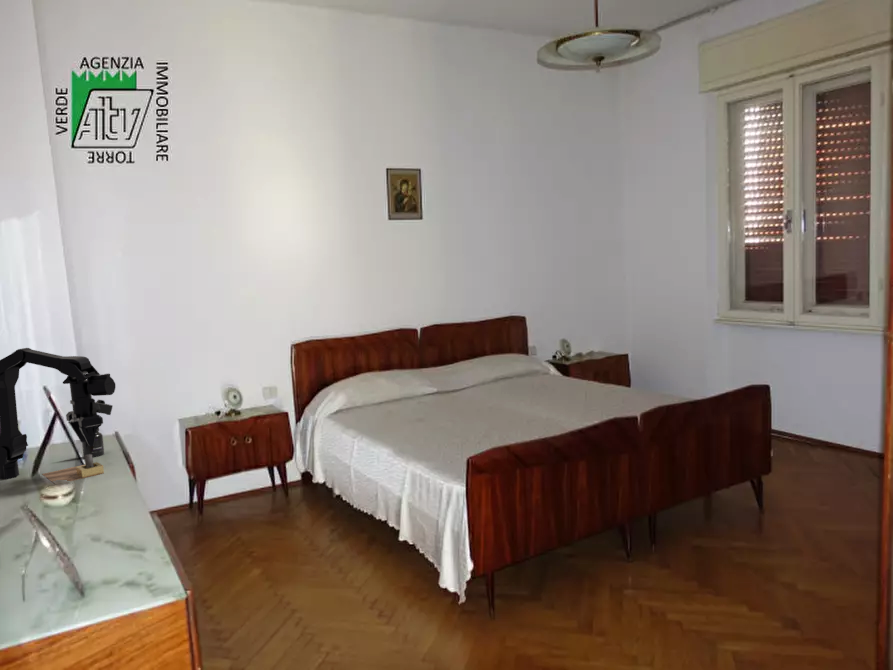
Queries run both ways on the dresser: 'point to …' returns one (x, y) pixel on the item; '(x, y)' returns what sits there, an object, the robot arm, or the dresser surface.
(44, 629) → the dresser surface
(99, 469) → the wooden square frame
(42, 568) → the dresser surface
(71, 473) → the keeper board
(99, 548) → the dresser surface
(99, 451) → the supplement bottle
